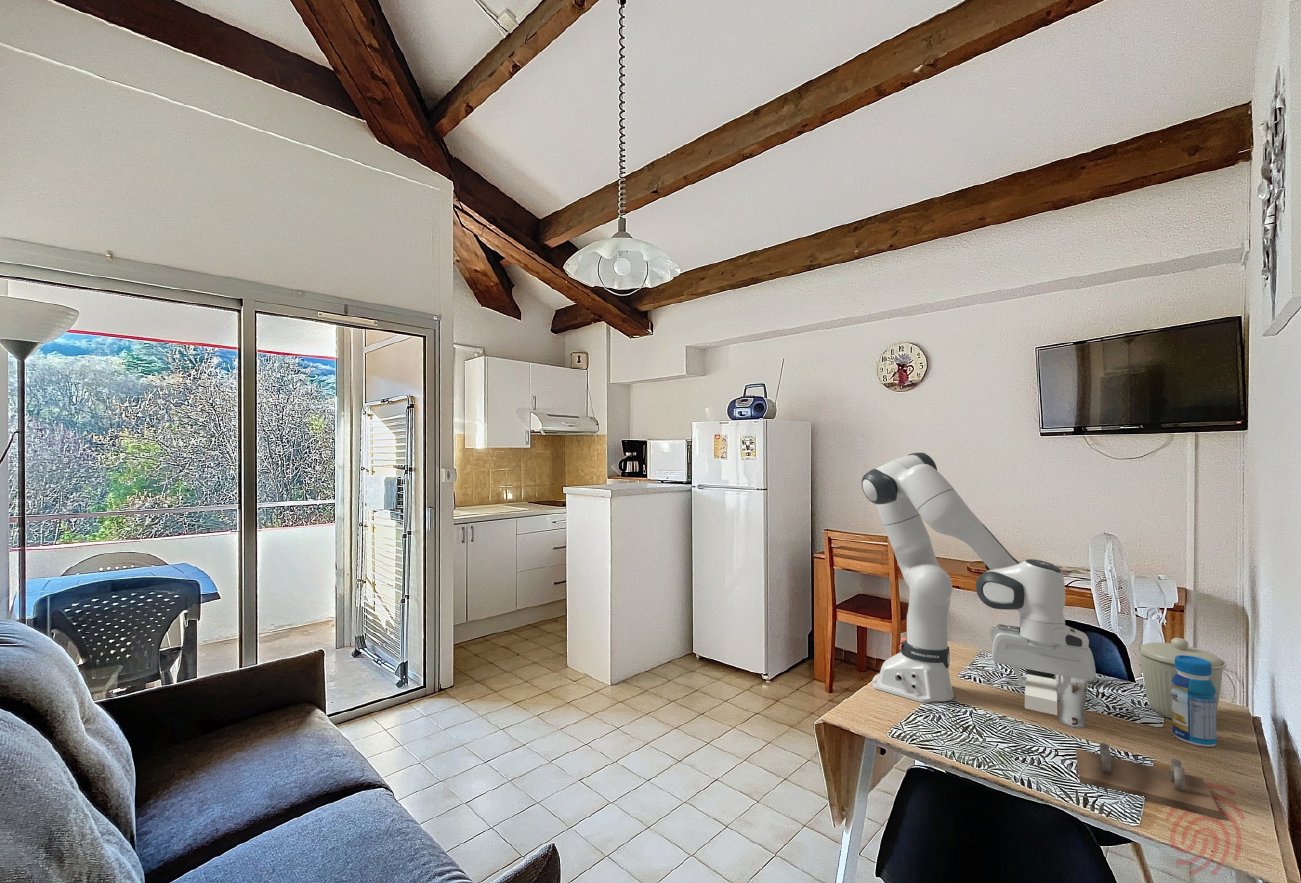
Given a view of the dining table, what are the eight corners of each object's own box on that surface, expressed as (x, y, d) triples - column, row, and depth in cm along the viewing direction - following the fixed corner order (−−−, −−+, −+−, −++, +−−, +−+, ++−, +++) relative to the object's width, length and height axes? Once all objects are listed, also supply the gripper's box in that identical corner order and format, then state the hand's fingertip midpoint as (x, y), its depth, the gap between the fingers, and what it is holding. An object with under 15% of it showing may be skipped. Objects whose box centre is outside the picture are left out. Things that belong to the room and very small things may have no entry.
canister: (1244, 726, 151) (1243, 645, 152) (1197, 735, 146) (1196, 652, 147) (1166, 698, 169) (1165, 626, 169) (1121, 706, 164) (1120, 631, 164)
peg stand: (1079, 783, 125) (1079, 755, 125) (1076, 755, 137) (1075, 729, 137) (1219, 819, 113) (1219, 788, 113) (1202, 785, 124) (1202, 757, 124)
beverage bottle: (1211, 751, 138) (1209, 667, 139) (1166, 737, 146) (1164, 657, 146) (1222, 742, 143) (1221, 661, 143) (1178, 728, 150) (1176, 651, 150)
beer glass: (1093, 730, 149) (1093, 671, 149) (1063, 727, 150) (1063, 669, 151) (1079, 718, 156) (1079, 662, 156) (1050, 715, 157) (1050, 660, 158)
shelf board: (1024, 708, 130) (1024, 694, 130) (1026, 686, 143) (1026, 674, 143) (1057, 715, 127) (1057, 701, 127) (1056, 692, 140) (1056, 679, 140)
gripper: (990, 625, 138) (989, 683, 138) (1097, 642, 127) (1096, 705, 127) (991, 619, 144) (990, 675, 144) (1094, 635, 133) (1093, 695, 133)
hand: (1041, 689), depth 135 cm, fingers closed on shelf board, 6 cm apart
